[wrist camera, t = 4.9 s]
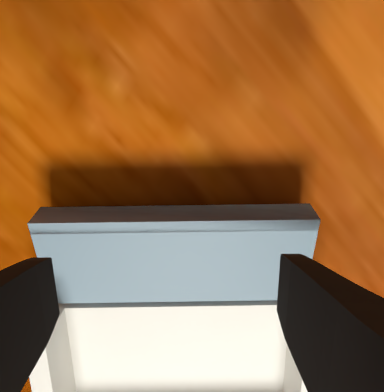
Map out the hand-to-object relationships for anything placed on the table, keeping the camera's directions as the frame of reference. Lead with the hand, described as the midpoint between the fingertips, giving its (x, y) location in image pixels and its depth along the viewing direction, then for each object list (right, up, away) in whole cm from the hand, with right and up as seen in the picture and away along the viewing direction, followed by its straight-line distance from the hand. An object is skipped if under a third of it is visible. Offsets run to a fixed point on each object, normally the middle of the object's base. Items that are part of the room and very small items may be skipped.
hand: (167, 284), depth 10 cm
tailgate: (0, -3, +7) cm, 8 cm away
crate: (0, -7, +10) cm, 12 cm away
